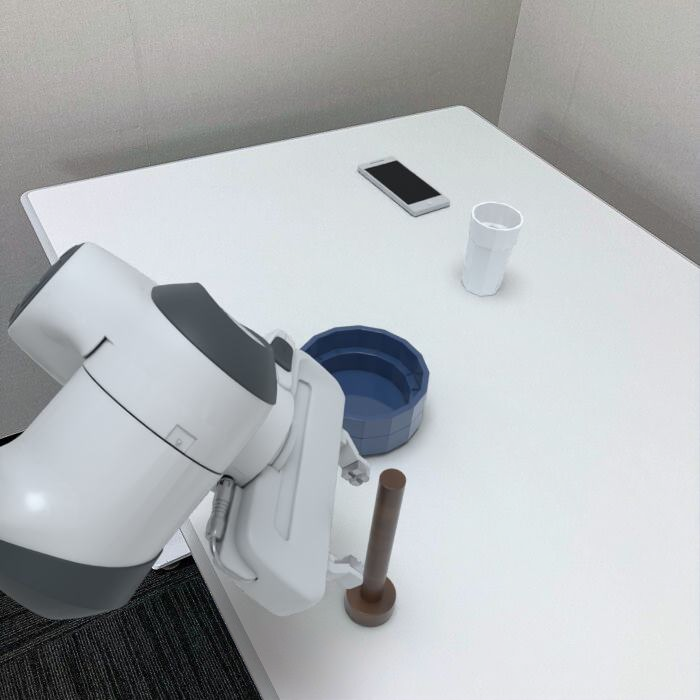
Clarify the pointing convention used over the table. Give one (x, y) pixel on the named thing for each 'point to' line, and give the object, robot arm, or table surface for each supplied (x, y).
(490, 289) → the cup
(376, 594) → the stick
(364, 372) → the bowl
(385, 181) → the smartphone
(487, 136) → the table surface
